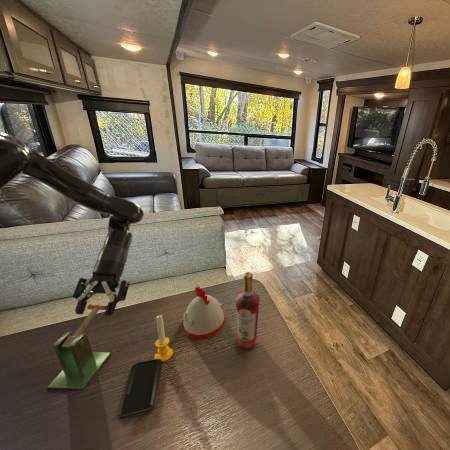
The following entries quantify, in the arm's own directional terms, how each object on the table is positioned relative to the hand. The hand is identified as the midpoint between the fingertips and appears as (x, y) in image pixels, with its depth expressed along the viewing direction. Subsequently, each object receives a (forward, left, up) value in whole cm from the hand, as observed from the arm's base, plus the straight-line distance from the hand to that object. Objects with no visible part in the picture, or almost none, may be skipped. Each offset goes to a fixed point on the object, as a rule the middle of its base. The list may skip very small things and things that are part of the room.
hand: (93, 314), depth 73 cm
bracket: (0, -9, -13) cm, 15 cm away
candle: (+20, -3, -13) cm, 24 cm away
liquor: (+45, +3, -13) cm, 47 cm away
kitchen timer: (+28, +11, -13) cm, 33 cm away
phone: (+19, -13, -13) cm, 26 cm away
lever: (0, -3, -2) cm, 4 cm away
